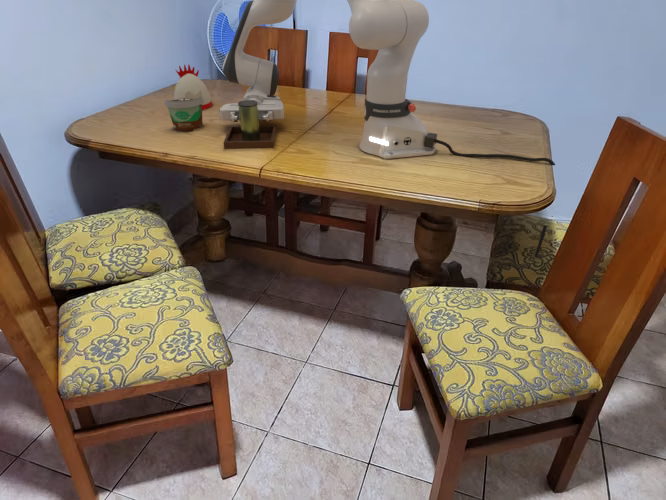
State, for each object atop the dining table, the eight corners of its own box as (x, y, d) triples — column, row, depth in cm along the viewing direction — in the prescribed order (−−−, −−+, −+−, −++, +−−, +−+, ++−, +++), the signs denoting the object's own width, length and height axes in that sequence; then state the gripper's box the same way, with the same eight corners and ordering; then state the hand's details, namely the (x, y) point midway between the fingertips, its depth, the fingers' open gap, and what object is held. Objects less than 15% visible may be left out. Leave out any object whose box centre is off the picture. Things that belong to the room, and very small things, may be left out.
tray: (276, 133, 150) (275, 125, 148) (273, 149, 138) (273, 141, 136) (231, 134, 149) (230, 126, 148) (224, 150, 137) (223, 142, 136)
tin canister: (261, 136, 146) (258, 99, 139) (259, 142, 141) (256, 105, 135) (243, 136, 145) (239, 100, 139) (241, 143, 141) (236, 105, 134)
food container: (168, 134, 149) (162, 103, 144) (169, 128, 154) (163, 97, 149) (208, 130, 152) (203, 100, 146) (207, 125, 157) (202, 95, 151)
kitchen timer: (172, 103, 179) (164, 62, 171) (207, 99, 184) (201, 59, 176) (178, 113, 169) (170, 69, 160) (215, 108, 173) (209, 66, 165)
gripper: (221, 97, 151) (214, 109, 139) (284, 96, 152) (282, 108, 140) (224, 116, 154) (217, 130, 143) (285, 115, 155) (283, 128, 143)
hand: (250, 119), depth 141 cm, fingers open, 8 cm apart
